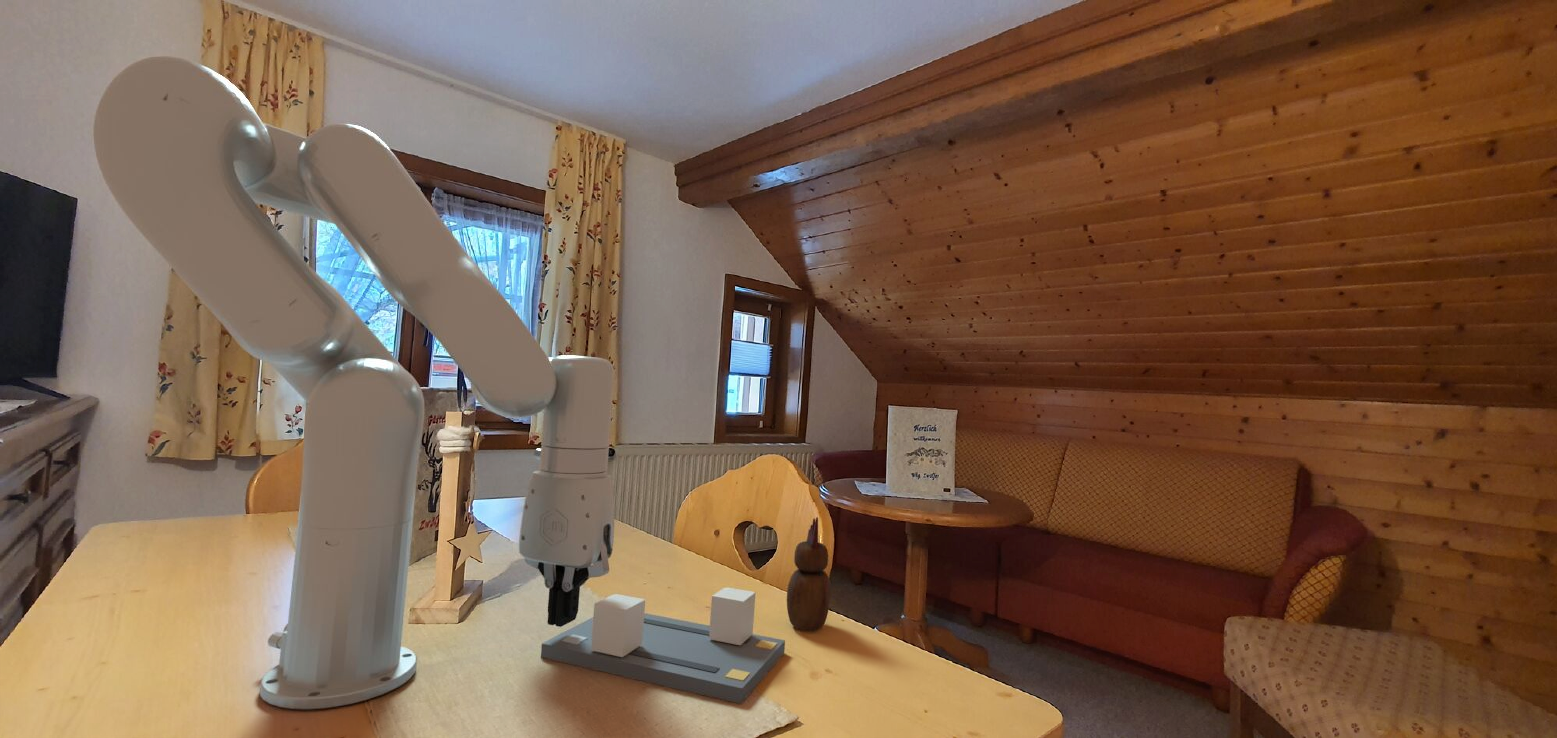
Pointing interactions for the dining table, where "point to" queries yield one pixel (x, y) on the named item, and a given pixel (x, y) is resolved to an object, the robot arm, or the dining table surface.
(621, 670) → the switch panel
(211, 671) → the dining table surface
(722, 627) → the tab far
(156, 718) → the dining table surface
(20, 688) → the dining table surface
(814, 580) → the wooden figurine
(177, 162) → the robot arm
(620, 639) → the tab near
